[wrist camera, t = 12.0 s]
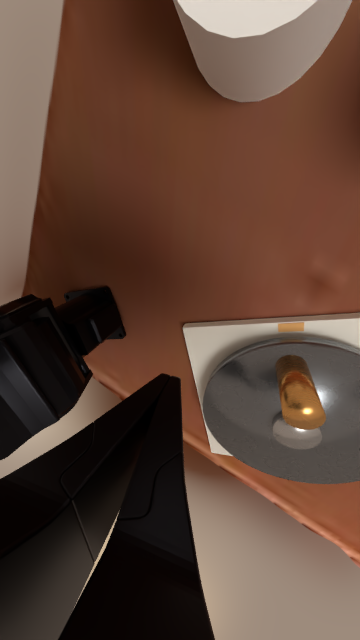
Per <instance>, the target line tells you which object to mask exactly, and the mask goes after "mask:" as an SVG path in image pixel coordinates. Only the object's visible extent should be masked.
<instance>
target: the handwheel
mask: <svg viewBox="0 0 360 640" xmlns="http://www.w3.org/2000/svg"><path fill="white" fill-rule="evenodd" d="M203 415H204V419H205V422H206V425H207V427H208V429H209V431H210V432H211V434H212V435H213V437H214V438H215V439H216V441H217V442H218V443H219V444H220V445H221V446H222V447H223V448H224V449H225V450H226V451H228V452H229V453H230V454H231V455H233V456H234V457H235V458H237V459H238V460H240V461H242V462H243V463H245V464H247V465H249V466H251V467H253V468H255V469H257V470H259V471H262V472H264V473H267V474H270V475H273V476H276V477H280V478H283V479H287V480H292V481H297V482H305V483H315V484H338V483H349V482H355V481H360V350H359V349H357V348H355V347H352V346H350V345H346V344H343V343H340V342H336V341H332V340H327V339H321V338H313V337H282V338H273V339H268V340H264V341H259V342H256V343H253V344H250V345H248V346H245V347H243V348H241V349H239V350H237V351H235V352H234V353H232V354H231V355H229V356H227V357H226V358H225V359H224V360H223V361H222V362H220V363H219V364H218V366H217V367H216V368H215V369H214V371H213V372H212V374H211V376H210V377H209V380H208V383H207V385H206V389H205V393H204V397H203Z"/></svg>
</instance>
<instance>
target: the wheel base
mask: <svg viewBox="0 0 360 640" xmlns="http://www.w3.org/2000/svg"><path fill="white" fill-rule="evenodd" d="M183 332H184V336H185V340H186V345H187V349H188V353H189V358H190V362H191V366H192V370H193V375H194V379H195V383H196V388H197V392H198V396H199V400H200V405H201V409H202V413H203V397H204V393H205V389H206V385H207V383H208V380H209V377H210V376H211V374H212V372H213V371H214V369H215V368H216V367H217V366H218V364H219V363H220V362H222V361H223V360H224V359H225V358H226V357H227V356H229V355H231V354H232V353H234V352H235V351H237V350H239V349H241V348H243V347H245V346H248V345H250V344H253V343H256V342H259V341H264V340H268V339H273V338H282V337H313V338H321V339H327V340H332V341H336V342H340V343H343V344H346V345H350V346H352V347H355V348H357V349H359V350H360V313H346V314H330V315H314V316H297V317H281V318H265V319H249V320H232V321H216V322H200V323H185V325H184V326H183ZM203 418H204V415H203ZM204 422H205V419H204ZM205 426H206V430H207V435H208V439H209V443H210V448H211V452H212V453H218V454H224V455H230V456H233V455H231V454H230V453H229V452H228V451H226V450H225V449H224V448H223V447H222V446H221V445H220V444H219V443H218V442H217V441H216V439H215V438H214V437H213V435H212V434H211V432H210V431H209V429H208V427H207V425H206V422H205Z"/></svg>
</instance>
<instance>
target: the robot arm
mask: <svg viewBox="0 0 360 640" xmlns="http://www.w3.org/2000/svg"><path fill="white" fill-rule="evenodd" d="M105 290H106V292H107V293H106V292H105ZM64 298H65V300H66V303H64V304H62V305H60V306H58V307H55V308H54V306H53V304H52V303H53V302H52V300H51V298H50V297H49V298H46V299H41V298H37V297H36V296H34V295H32V294H30V295H27V296H24V297H22V298H19V299H17V300H14V301H11V302H9V303H7V304H4V305H1V306H0V460H2V459H5V458H6V457H8V456H9V455H10V454H11V453H13V452H14V451H15V450H16V449H18V448H19V447H20V446H21V445H22V444H24V443H25V442H26V441H27V440H28V439H30V438H31V437H32V436H34V435H35V434H37V433H38V432H40V431H41V430H43V429H44V428H46V427H48V426H50V425H52V424H54V423H56V422H57V421H59V420H60V418H62V417H63V416H64V415H65V414H67V413H68V412H69V411H70V410H71V409H72V408H73V407H74V406H75V404H76V403H77V401H78V400H79V398H80V396H81V394H82V393H83V391H84V389H85V387H86V386H87V384H88V382H89V380H90V379H91V377H92V375H93V373H92V371H91V370H89V368H88V366H87V364H86V363H85V361H84V359H83V357H84V356H86V355H88V354H89V353H90V352H91V351H92V350H94V349H95V348H96V347H97V346H98V345H99V344H100V343H102V342H104V341H105V340H106V339H123V338H124V337H125V336H126V332H125V330H124V327H123V324H122V321H121V318H120V316H119V313H118V310H117V307H116V305H115V302H114V299H113V296H112V293H111V291H110V289H109V288H108V287H99V288H92V289H85V290H79V291H72V292H67V293H65V294H64ZM121 334H122V335H121ZM183 456H184V455H183V432H182V405H181V380H180V378H179V377H175V376H170V375H168V374H164V373H162V374H160V375H159V376H157V377H156V378H154V379H153V380H151V381H150V382H149V383H147V384H146V385H144V386H143V387H142V388H140V389H139V390H137V391H136V392H135V393H133V394H132V395H130V396H129V397H128V398H126V399H125V400H123V401H122V402H121V403H119V404H118V405H116V406H115V407H114V408H112V409H111V410H109V411H108V412H106V413H105V414H104V415H102V416H101V417H100V418H98V419H97V420H95V421H94V423H93V422H92V423H91V424H89V425H88V426H87V427H85V428H84V429H83V430H81V431H79V432H78V433H77V434H75V435H73V436H72V437H71V438H69V439H67V440H66V441H64V442H62V443H61V444H59V445H58V446H56V447H54V448H53V449H51V450H49V451H48V452H46V453H44V454H43V455H41V456H39V457H38V458H36V459H34V460H32V461H31V462H29V463H27V464H26V465H24V466H22V467H21V468H19V469H17V470H16V471H14V472H12V473H11V474H9V475H7V476H5V477H3V478H1V479H0V640H215V638H214V634H213V630H212V626H211V622H210V618H209V614H208V610H207V606H206V602H205V598H204V593H203V589H202V584H201V580H200V574H199V569H198V563H197V557H196V551H195V545H194V538H193V532H192V526H191V519H190V513H189V508H188V501H187V493H186V485H185V476H184V457H183ZM119 510H120V511H119ZM118 512H119V514H118ZM117 514H118V517H117V521H116V523H115V525H114V528H113V531H112V533H111V536H110V539H109V541H108V543H107V546H106V548H105V550H104V552H103V554H102V556H101V558H100V560H99V562H98V564H97V566H96V568H95V569H94V572H93V573H92V575H91V577H90V579H89V581H88V583H87V585H86V587H85V589H84V590H83V592H82V594H81V596H80V593H81V591H82V589H83V587H84V585H85V583H86V581H87V578H88V576H89V574H90V572H91V570H92V568H93V566H94V562H95V561H96V559H97V557H98V555H99V553H100V550H101V548H102V546H103V544H104V542H105V540H106V538H107V536H108V534H109V531H110V529H111V527H112V525H113V523H114V521H115V519H116V516H117ZM79 596H80V598H79ZM78 598H79V600H78ZM77 600H78V602H77ZM76 602H77V604H76ZM75 604H76V606H75ZM74 606H75V608H74ZM73 608H74V610H73Z"/></svg>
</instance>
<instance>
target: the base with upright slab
mask: <svg viewBox="0 0 360 640" xmlns="http://www.w3.org/2000/svg"><path fill="white" fill-rule="evenodd" d="M173 2H174V5H175V7H176V10H177V13H178V15H179V18H180V21H181V23H182V26H183V29H184V31H185V34H186V37H187V39H188V42H189V45H190V48H191V50H192V53H193V56H194V58H195V61H196V64H197V66H198V69H199V70H200V72H201V73H202V75H203V77H204V78H205V80H206V81H207V83H208V84H209V86H210V87H212V88H213V89H214V90H215V91H217V92H218V93H219V94H220V95H222V96H223V97H225V98H228V99H231V100H234V101H238V102H255V101H261V100H263V99H266V98H268V97H271V96H274V95H276V94H279V93H280V92H282V91H283V90H284V89H286V88H287V87H289V86H290V85H291V84H293V83H294V82H296V81H297V80H298V79H300V78H301V77H302V76H303V75H304V73H305V72H306V71H307V70H308V69H309V68H310V67H311V66H312V65H313V64H314V63H315V62H316V61H317V60H318V58H319V57H320V56H321V55H322V53H323V52H324V50H325V49H326V47H327V46H328V44H329V42H330V41H331V39H332V38H333V36H334V35H335V33H336V32H337V30H338V29H339V27H340V25H341V23H342V21H343V19H344V17H345V14H346V12H347V10H348V8H349V6H350V4H351V2H352V0H173Z"/></svg>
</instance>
